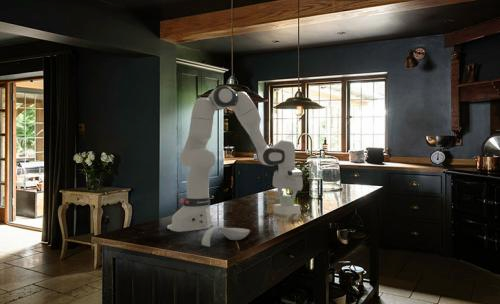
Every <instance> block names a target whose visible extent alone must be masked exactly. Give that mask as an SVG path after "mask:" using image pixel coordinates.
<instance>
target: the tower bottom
mask: <svg viewBox="0 0 500 304" xmlns="http://www.w3.org/2000/svg"><path fill="white" fill-rule="evenodd" d="M273 220H276V221H281V222H284V221H285V222H284V223H288V221H289V222H293V221H300V220H301V212H300V213H295V214H289V215H284V214H279V213H274V214H273Z"/></svg>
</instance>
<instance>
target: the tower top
mask: <svg viewBox="0 0 500 304" xmlns="http://www.w3.org/2000/svg"><path fill="white" fill-rule="evenodd" d="M273 208H274V213H279V214H284V215H289V214H295V213H300V214H301V204H296V203H294V205H292V206H283V205H281V204H276V205H273Z"/></svg>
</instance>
